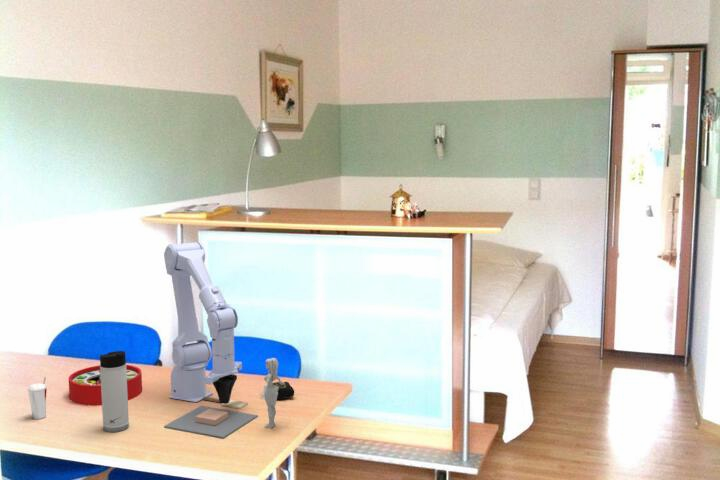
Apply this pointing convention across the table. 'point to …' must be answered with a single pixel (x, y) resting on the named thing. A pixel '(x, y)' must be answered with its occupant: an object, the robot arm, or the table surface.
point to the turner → (231, 403)
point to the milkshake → (38, 399)
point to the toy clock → (99, 385)
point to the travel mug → (114, 391)
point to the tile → (211, 417)
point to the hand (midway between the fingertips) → (224, 402)
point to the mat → (219, 430)
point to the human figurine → (271, 389)
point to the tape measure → (284, 390)
